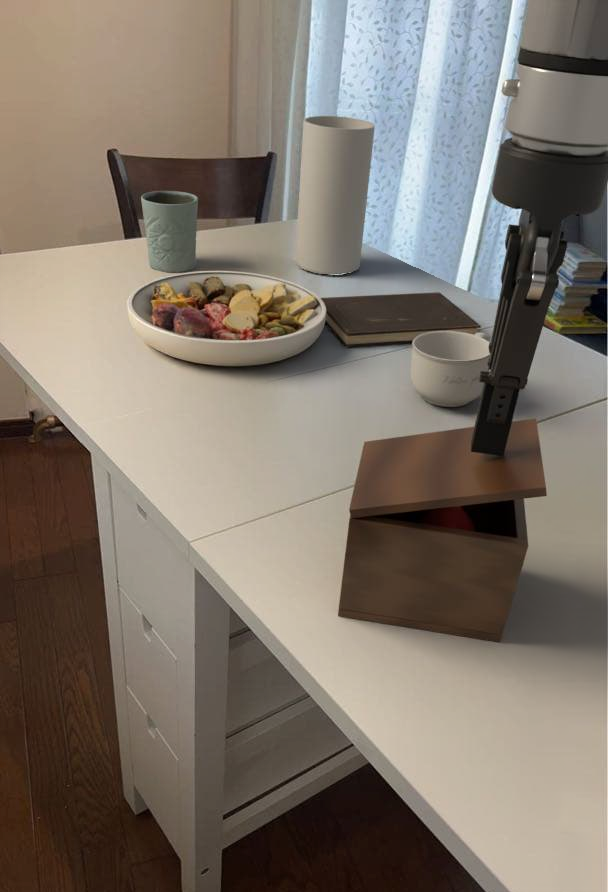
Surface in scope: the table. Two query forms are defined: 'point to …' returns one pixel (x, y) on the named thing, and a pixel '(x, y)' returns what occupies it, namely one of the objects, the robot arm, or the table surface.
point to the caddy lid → (446, 471)
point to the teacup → (449, 366)
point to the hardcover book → (393, 318)
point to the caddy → (436, 570)
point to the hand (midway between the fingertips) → (487, 449)
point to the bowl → (226, 317)
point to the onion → (449, 518)
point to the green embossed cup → (170, 229)
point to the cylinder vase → (333, 193)
